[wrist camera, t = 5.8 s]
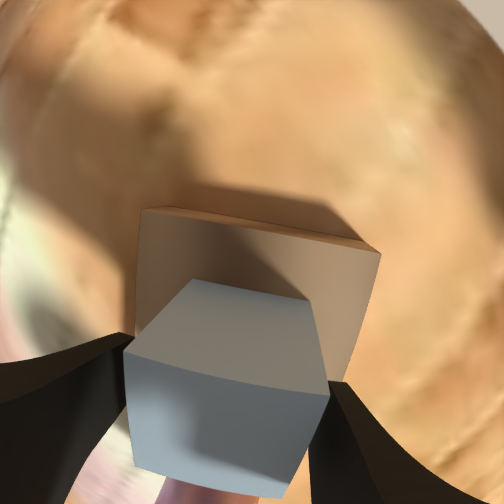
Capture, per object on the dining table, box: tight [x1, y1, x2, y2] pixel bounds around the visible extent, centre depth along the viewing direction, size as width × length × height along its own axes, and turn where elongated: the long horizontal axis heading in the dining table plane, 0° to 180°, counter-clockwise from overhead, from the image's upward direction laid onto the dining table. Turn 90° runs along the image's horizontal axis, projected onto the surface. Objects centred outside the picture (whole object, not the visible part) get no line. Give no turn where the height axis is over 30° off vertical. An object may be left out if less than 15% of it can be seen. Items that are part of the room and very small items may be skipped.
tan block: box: [135, 206, 381, 382], centre depth 13 cm, size 9×9×3 cm
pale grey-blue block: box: [123, 279, 330, 499], centre depth 9 cm, size 4×4×6 cm
